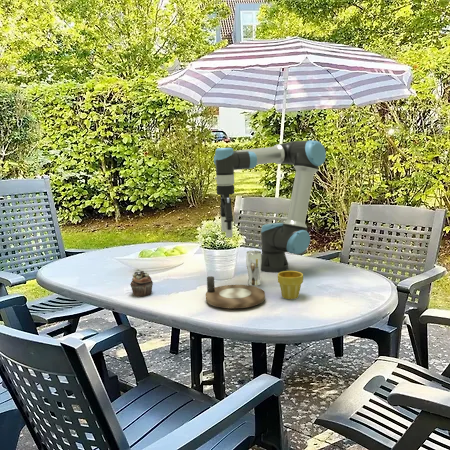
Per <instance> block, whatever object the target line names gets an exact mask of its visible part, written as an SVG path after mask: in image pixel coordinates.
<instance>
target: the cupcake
mask: <svg viewBox="0 0 450 450" xmlns="http://www.w3.org/2000/svg"><path fill="white" fill-rule="evenodd" d="M153 283H154V282H153V280H152V277H151V276H150V273H148V272H144V270H140V271H135V272H134V273H133V274H132V279H131V282H130V287H131V290H132V295H133V296H134V297H137V298H138V297H139V298H141V297H142V298H143V297H147V296H150V295H152V292H153V285H154V284H153Z"/></svg>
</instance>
